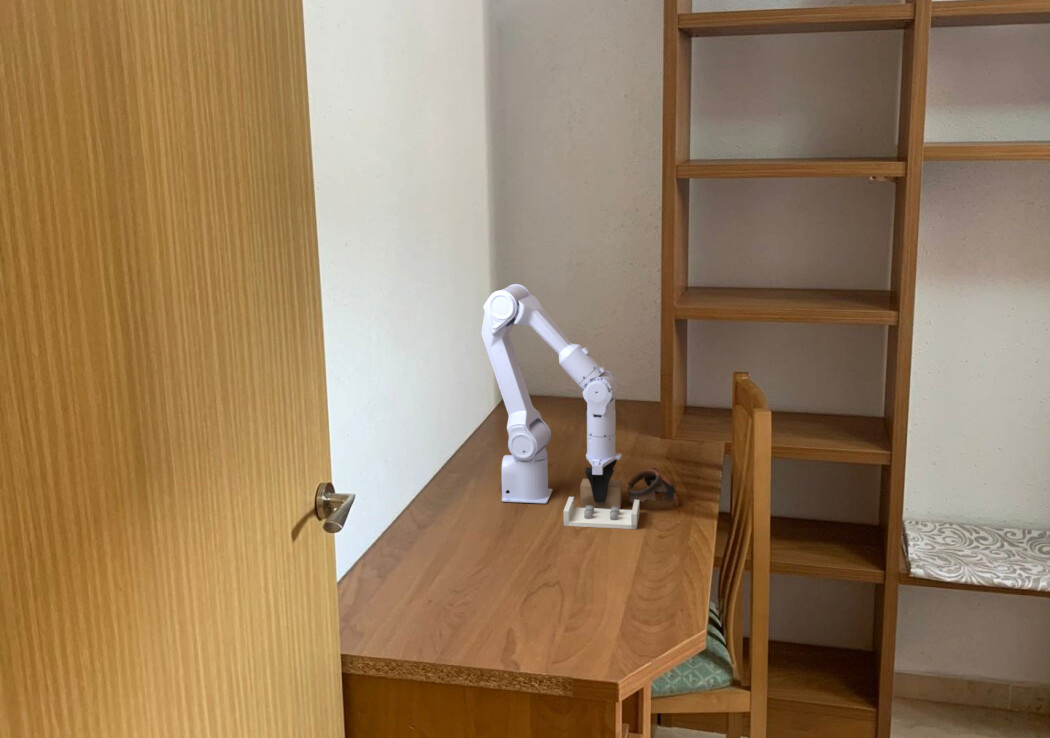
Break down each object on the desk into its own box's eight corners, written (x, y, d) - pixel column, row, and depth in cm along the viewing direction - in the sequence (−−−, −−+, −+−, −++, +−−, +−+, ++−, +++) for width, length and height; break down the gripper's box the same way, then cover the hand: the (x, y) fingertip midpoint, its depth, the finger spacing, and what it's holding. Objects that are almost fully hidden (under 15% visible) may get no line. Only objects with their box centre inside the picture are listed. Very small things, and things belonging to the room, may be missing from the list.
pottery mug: (683, 514, 205) (665, 483, 202) (640, 532, 208) (622, 502, 205) (678, 480, 216) (661, 450, 213) (638, 497, 219) (620, 468, 215)
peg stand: (563, 525, 199) (563, 511, 199) (569, 510, 207) (569, 496, 206) (636, 529, 197) (636, 514, 196) (639, 514, 205) (639, 499, 204)
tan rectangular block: (580, 507, 209) (580, 486, 208) (582, 499, 213) (582, 478, 212) (620, 508, 208) (620, 487, 207) (621, 501, 212) (621, 480, 211)
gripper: (617, 444, 199) (617, 511, 202) (624, 423, 213) (624, 486, 216) (581, 443, 201) (581, 509, 204) (590, 422, 214) (590, 484, 218)
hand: (601, 497), depth 210 cm, fingers closed on tan rectangular block, 4 cm apart
